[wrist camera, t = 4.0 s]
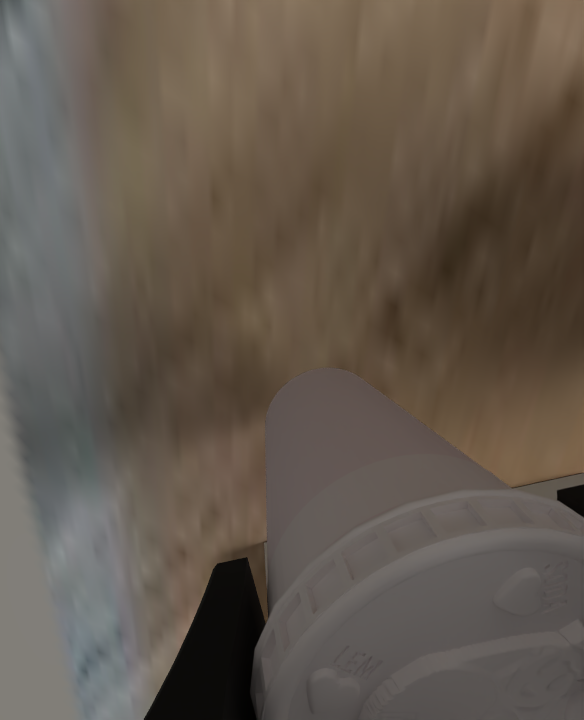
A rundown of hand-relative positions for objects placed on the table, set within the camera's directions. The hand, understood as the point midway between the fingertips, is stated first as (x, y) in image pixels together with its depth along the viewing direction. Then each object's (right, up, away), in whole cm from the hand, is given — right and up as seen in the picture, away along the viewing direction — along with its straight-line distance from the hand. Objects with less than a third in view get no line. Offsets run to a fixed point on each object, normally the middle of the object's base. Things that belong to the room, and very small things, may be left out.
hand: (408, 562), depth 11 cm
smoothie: (-1, +2, +6) cm, 7 cm away
